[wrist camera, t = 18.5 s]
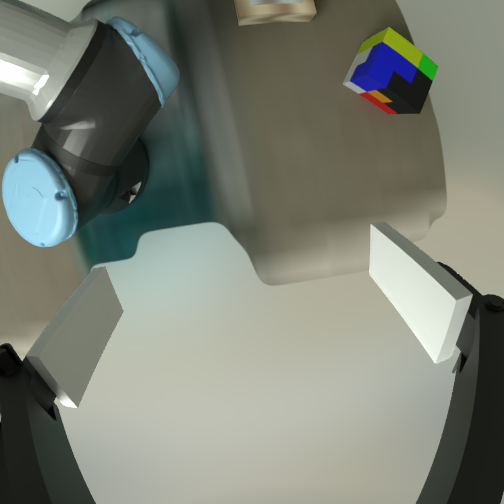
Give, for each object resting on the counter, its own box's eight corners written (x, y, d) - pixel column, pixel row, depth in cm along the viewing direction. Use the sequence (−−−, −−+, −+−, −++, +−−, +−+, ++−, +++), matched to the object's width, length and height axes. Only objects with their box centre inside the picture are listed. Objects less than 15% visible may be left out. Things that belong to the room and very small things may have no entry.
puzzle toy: (342, 83, 39) (367, 74, 30) (362, 42, 35) (388, 27, 26) (388, 113, 41) (419, 113, 32) (406, 72, 37) (438, 66, 28)
